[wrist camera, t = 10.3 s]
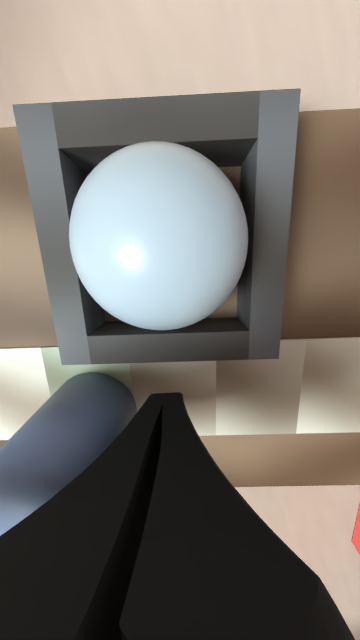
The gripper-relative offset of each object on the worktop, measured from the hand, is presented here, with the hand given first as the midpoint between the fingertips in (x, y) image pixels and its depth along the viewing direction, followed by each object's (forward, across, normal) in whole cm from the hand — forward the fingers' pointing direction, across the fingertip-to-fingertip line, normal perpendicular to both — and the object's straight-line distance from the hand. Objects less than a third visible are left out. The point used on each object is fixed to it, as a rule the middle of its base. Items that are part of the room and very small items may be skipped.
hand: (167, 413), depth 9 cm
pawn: (+2, +4, +1) cm, 4 cm away
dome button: (+1, 0, -6) cm, 7 cm away
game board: (+3, 0, -2) cm, 4 cm away
